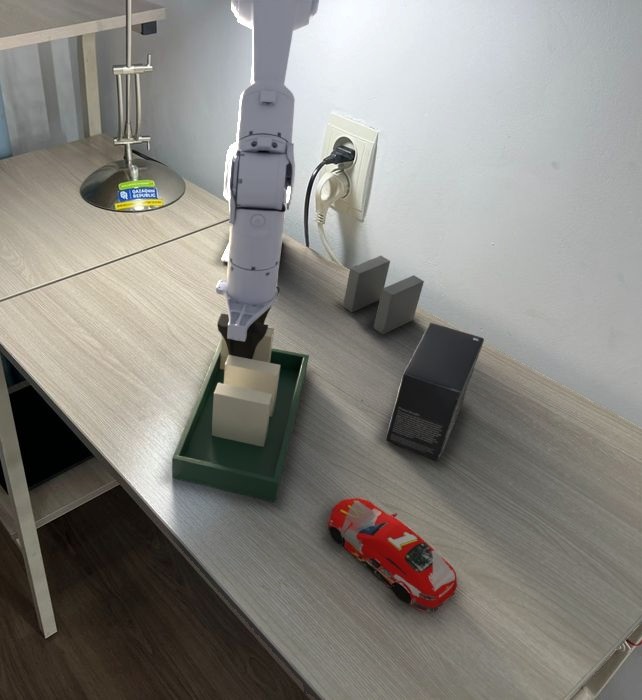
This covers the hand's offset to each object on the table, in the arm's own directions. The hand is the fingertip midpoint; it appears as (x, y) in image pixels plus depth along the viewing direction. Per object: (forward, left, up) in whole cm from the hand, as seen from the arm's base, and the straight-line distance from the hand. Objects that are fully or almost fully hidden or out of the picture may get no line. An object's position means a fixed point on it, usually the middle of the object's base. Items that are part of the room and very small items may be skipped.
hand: (245, 351), depth 85 cm
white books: (+9, +2, -3) cm, 9 cm away
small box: (+3, +22, -4) cm, 22 cm away
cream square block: (0, 0, -3) cm, 3 cm away
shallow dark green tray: (+9, +2, -3) cm, 9 cm away
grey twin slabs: (-18, +15, -3) cm, 24 cm away
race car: (+23, +19, -4) cm, 30 cm away
